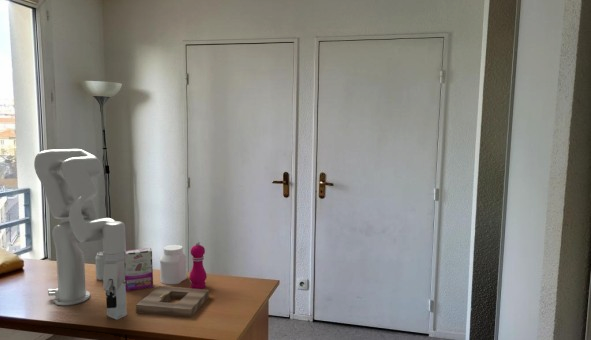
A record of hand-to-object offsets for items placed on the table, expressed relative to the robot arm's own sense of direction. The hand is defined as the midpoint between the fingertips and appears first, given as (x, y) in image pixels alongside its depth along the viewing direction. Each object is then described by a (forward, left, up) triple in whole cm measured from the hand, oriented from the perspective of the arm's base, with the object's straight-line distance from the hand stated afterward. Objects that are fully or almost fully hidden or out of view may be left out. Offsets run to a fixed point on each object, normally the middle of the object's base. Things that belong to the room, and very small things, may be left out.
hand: (116, 301), depth 146 cm
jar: (+14, +34, -6) cm, 37 cm away
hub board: (+19, +8, -5) cm, 21 cm away
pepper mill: (+26, +25, -6) cm, 36 cm away
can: (-17, +38, -6) cm, 42 cm away
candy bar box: (+1, +26, -6) cm, 27 cm away
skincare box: (0, 0, -6) cm, 6 cm away
